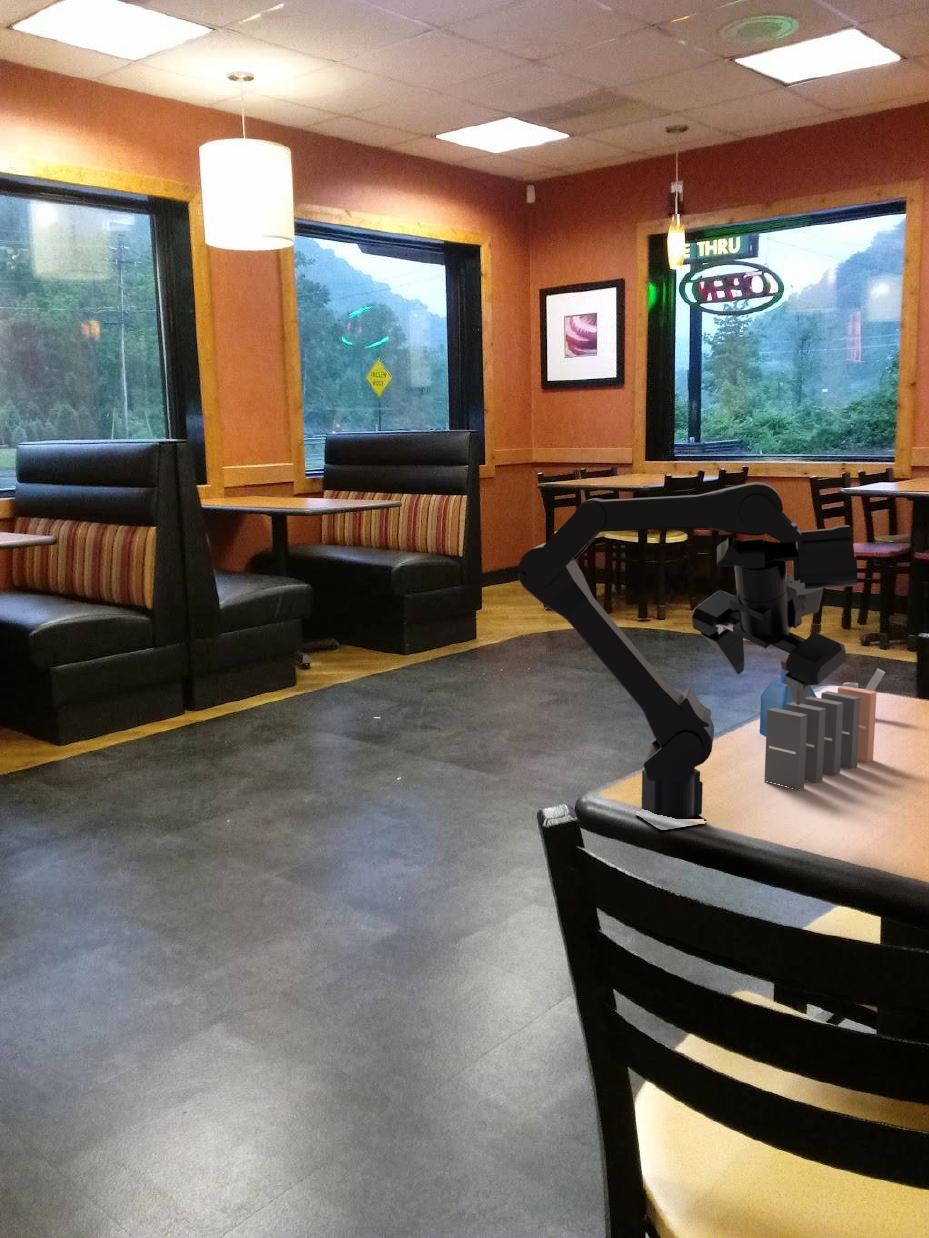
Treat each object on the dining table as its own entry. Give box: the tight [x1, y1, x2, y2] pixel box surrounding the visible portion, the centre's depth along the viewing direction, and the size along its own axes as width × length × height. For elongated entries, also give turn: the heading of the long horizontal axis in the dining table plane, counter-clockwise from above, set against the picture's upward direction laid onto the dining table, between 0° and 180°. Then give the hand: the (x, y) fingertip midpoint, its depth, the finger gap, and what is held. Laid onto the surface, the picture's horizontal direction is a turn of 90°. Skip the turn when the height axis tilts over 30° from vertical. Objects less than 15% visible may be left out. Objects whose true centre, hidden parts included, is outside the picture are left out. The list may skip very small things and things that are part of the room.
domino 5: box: [837, 685, 877, 763], centre depth 152 cm, size 2×5×10 cm, turn 41°
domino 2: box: [786, 702, 826, 784], centre depth 143 cm, size 2×5×10 cm, turn 41°
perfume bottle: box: [759, 658, 818, 737], centre depth 163 cm, size 6×6×12 cm
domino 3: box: [804, 696, 843, 777], centre depth 146 cm, size 2×5×10 cm, turn 41°
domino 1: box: [763, 708, 807, 791], centre depth 141 cm, size 2×5×10 cm, turn 41°
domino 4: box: [820, 690, 860, 770], centre depth 149 cm, size 2×5×10 cm, turn 41°
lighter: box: [837, 668, 886, 691], centre depth 175 cm, size 7×2×8 cm, turn 63°
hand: (769, 687), depth 132 cm, fingers open, 9 cm apart
